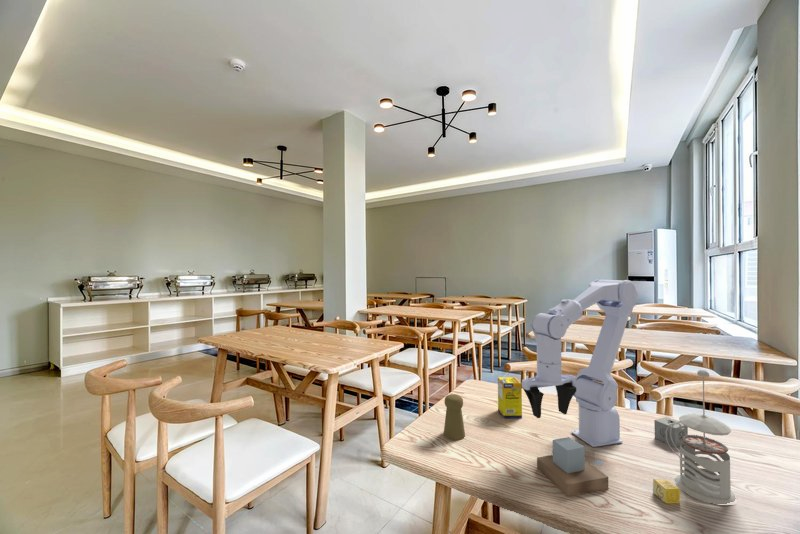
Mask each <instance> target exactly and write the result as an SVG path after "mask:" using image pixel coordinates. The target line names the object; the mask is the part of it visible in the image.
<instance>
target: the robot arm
mask: <svg viewBox="0 0 800 534" xmlns="http://www.w3.org/2000/svg"><path fill="white" fill-rule="evenodd" d="M636 288H637V287H636V286H635V283H633V281H632V280H629V279H624V280H620V279H619V280H616V279H600V278H597V279H594V280H593V281H592V282H589V285H588V288H586V289H585V290H584V291H583V292H582V293H580V294H579V295H578V296H576V297H575V298H574V299H569V298H568V299H565V298H564V299H562V300H560V303H559V304H557V305H555V306H554V307H551V308H549V309H548V310H547V311H546V312H545V313H544V312H540V313H538V314H536V315H535V316H534V317H533V319H532V322H531V323H530V329H531V331H532V333H533V335H534V340H535V342H536V343H535V344H536V375H535V376H532V377H529V378H526V379H525V378H524V379H521V383H522V389H523V390H522V391H524V393H525V395H526V397H527V399H528V401H529V405H530V408H531V410H532V414H533V416H534V417H536V418H537V419H541V417H542V403H543V397H544V393H543V392H542V391H540V389H541V388H546V387H555V390H556V397H557V405H558V406H557V407H558V412H560V413H562V414H563V415H567V414H568V409H569V406H570V405H571V404H570V403H571V401H572V398H573V397H574V398H575V402H576V403H578V404H577V405H578V429H574V430H571V434H573V435H574V436H576V437H577V438H579V439H580V440H582V441H583V442H584V443H586V444H588V445H589V446H591V447H592V448H593V447H594V448H597V447H602V446H609V445H614V444H615V445H616V444H622V443H623V442H624V441H623V440H622V439H621V433H620V432H621V430H620V428H621V426H620V425H621V424H620V415H619V412H618V410H617V408H616V407H615V405H616V404H617V401H618V389H619V385H618V383H617V382H616V380H615V379H614V377H613V376H612V375H611V374H612V371H613V367H614V364H615V361H616V358H617V355H618V352H619V349H620V346H621V342H622V339H623V336H624V332H625V331H626V330H625V329H626V327H627V324H628V319H629V316H630V315H631V314H632V312H633V309H634V307H635V303H636V301H637V297H638V291H637V289H636ZM595 304H596V305H597V307H598V308H599V309H600V310H601V311H603V312H604V314H605V315H604V320H603V323H602V324H601V329H600V330H599V334H598V337H597V341H596V343H595V347H594V349H593V353H592V354H591V355H592V356H591V358H590V362H589V364H588V366H587V367H584V368H581V369H580V370H578V373H577V375H576V376H575V375H572V374H562V372H563V371H562V338H563V337H564V336H566V335H565V334H566V332H567V330H568V329H569V327H570V326H571V325H573V324H574V323H575V322H576V321H579V319H581V318H582V317H583V314H584V313H583V312H584V311H585V310H587V309H589V308H590V307H592V306H594V305H595Z"/></svg>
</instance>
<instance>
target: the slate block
mask: <svg viewBox="0 0 800 534" xmlns="http://www.w3.org/2000/svg"><path fill="white" fill-rule="evenodd" d="M552 455H553V463H555V464H556V465H557V466H559V467H560V468H561V469H562V470H564V471H565V472H566V473H573V472H578V471H582V470H585V460H586V459H585V457H586V456H585V455H586V453H585V446H583V445H582V444H581V443H579V442H578V441H576V440H574V439H573V438H571V437H569V436H566V437H562V438H556V439H552Z"/></svg>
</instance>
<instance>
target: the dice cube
mask: <svg viewBox="0 0 800 534" xmlns="http://www.w3.org/2000/svg"><path fill="white" fill-rule="evenodd" d="M678 421H679V420H677V419H674V418H671V417H669V416H664V417H661V418H656V419H654V438H655V439H656V440H658V441H660V442H662V443H665V444H667V445H668V443H667V440H666V429H667V427H668V426H669V425H670V424H672V423H675V422H678ZM680 425H681V429H682V428H684V424H682V423H681V422H680ZM671 426H672V425H671ZM671 426H670V427H669V428H668V430H667V439H668V442H669V445H670V447H673V448H675V446H676V447H677V448H678V447H679V448H680V444H681V443H682V446H684V442H683V440H682V437H683V436H684V435H689V429H688V428H689V427H687V426H685V428H684V429H683V430H681V429H680V426H679V424H674V426H673V427H672V430H671V436H672V440H673V442H674V444H675V446H674V445H673V443H672V440H671V437H670V428H671ZM669 445H668V446H669Z"/></svg>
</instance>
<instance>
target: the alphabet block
mask: <svg viewBox="0 0 800 534" xmlns="http://www.w3.org/2000/svg"><path fill="white" fill-rule="evenodd" d="M652 486H653V487H652V493H653V494H654V495H656V497H657V498H659V499H660V500H661V501H662V502H663V503H664V504H679V503H680V496H681V495H680V493H681V489H680V488H679V487H678V486H677V485H676V484H674V483H673V482H671V481H670V480H669V479H667V478H653V481H652Z"/></svg>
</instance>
